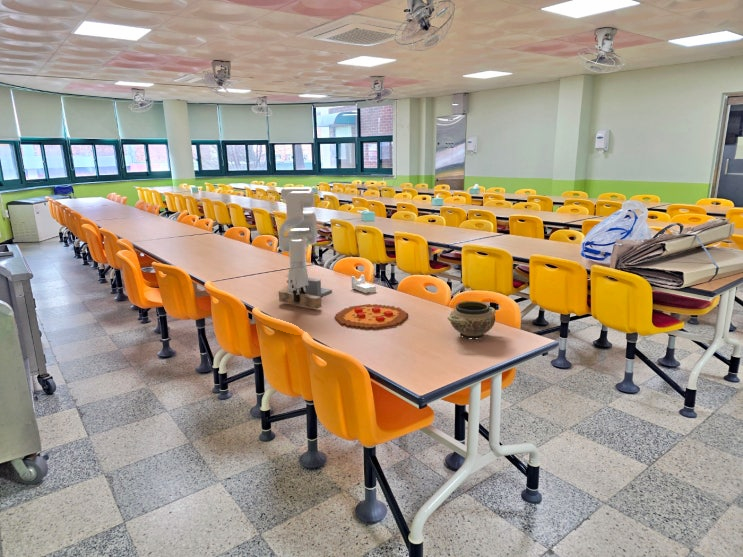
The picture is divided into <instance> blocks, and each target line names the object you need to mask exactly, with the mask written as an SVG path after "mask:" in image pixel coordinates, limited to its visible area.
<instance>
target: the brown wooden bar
mask: <svg viewBox="0 0 743 557" xmlns="http://www.w3.org/2000/svg"><path fill="white" fill-rule="evenodd" d="M298 294H299V297H300V302H299V303H298V302H294V294H293V293H292V292H291V291H289V290H286V289H282V290H280V291H278V301H279V302H280V303H286V304H291V305H296V306H302V307H306V308H311V309H316V310H318V309H320V308H322V306H323V305H322V297H319V296H314V295H308V294H303V293H298Z"/></svg>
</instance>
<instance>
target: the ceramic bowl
mask: <svg viewBox="0 0 743 557" xmlns="http://www.w3.org/2000/svg"><path fill="white" fill-rule="evenodd" d="M495 315H496V309H495V308H494V307H492V306H490V305H489V304H487V303H485V302H482V301H478V300H466V301H460V302H458V303H456V304H455V308H454V309H453V310H452V311H451V312H450V314H449V316H447V321H449V322H450V324H451V327H452V328H453V329H454V330H455V331H457V332H458V333H459V335H460V337H461V336H463V337H465V338H472V339H475V338H481V339H483V338H484V337H483V336H485V334H486V333H488V332H489V331H490V330H491V329H492V328H493V327H494V325H495V322H496V316H495ZM463 337H462V338H463ZM482 337H483V338H482ZM465 338H464V339H465ZM472 339H471V340H472ZM475 340H476V339H475Z"/></svg>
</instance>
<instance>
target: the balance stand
mask: <svg viewBox="0 0 743 557" xmlns="http://www.w3.org/2000/svg"><path fill="white" fill-rule="evenodd" d="M321 282H322V281H321V278H314V277H309V276H308V283H309V285H308V286H307V288H306V292H305V294H308V295H314V296H319V297H321V296H322V297H324V296H326V294H327V295H329V294H332V293H333V289H330V288H323V287H322V284H321ZM299 292H300V288H299ZM331 292H332V293H331ZM322 297H321V298H322Z"/></svg>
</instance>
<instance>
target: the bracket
mask: <svg viewBox="0 0 743 557" xmlns="http://www.w3.org/2000/svg"><path fill="white" fill-rule="evenodd" d="M365 276H366V275H364V274H360V276H359V278H358V279H357V278H356V276H354V275H351V277H350V278H351V288H352V289H354V290H356V291H359V292H361V293H365V294H367V293H369V292H370V294H371V293H372V292H373V293H376V291H377V286H376V285H374V284H371V283H367V282H366V278H365Z"/></svg>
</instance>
